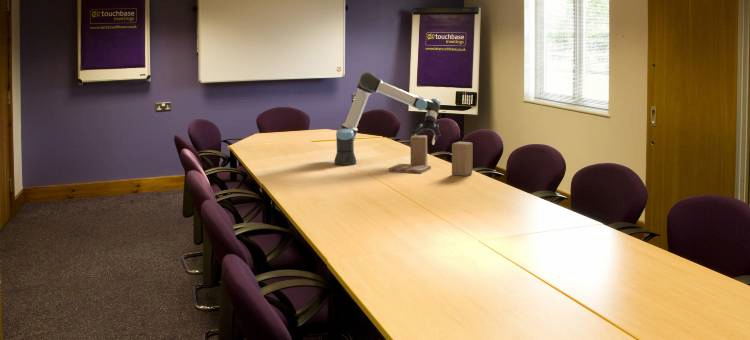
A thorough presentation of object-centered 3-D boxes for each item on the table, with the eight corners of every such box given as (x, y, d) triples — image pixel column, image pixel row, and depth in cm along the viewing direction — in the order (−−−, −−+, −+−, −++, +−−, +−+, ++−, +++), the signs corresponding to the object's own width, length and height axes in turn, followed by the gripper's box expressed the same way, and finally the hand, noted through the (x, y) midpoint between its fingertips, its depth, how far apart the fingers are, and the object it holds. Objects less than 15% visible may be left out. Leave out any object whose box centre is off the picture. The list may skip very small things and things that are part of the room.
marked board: (389, 171, 452) (389, 168, 451) (399, 166, 468) (399, 163, 468) (421, 173, 443) (421, 170, 442) (430, 168, 459) (430, 165, 459)
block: (458, 172, 445) (459, 141, 441) (472, 174, 439) (473, 142, 436) (451, 175, 437) (451, 143, 433) (465, 176, 431) (465, 144, 427)
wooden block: (425, 167, 464) (425, 137, 460) (410, 167, 466) (410, 137, 462) (427, 164, 473) (427, 135, 470) (412, 164, 475) (412, 135, 472)
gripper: (449, 122, 480) (442, 147, 469) (415, 121, 490) (407, 145, 479) (446, 115, 474) (439, 140, 463) (412, 114, 484) (404, 139, 473)
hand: (423, 143), depth 471 cm, fingers open, 13 cm apart
